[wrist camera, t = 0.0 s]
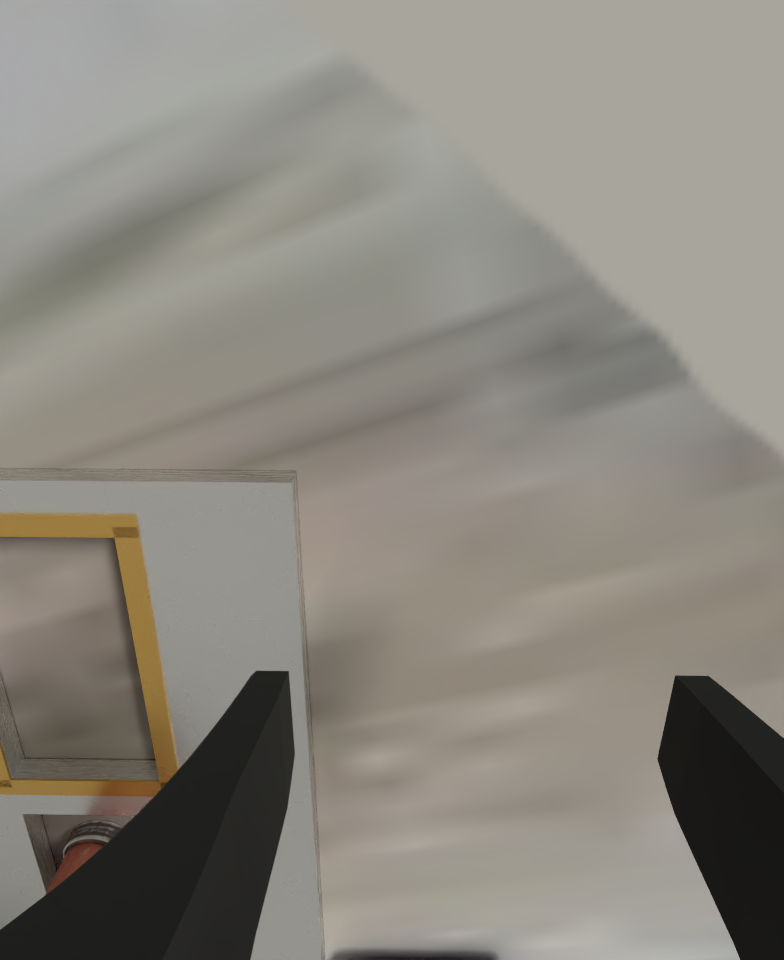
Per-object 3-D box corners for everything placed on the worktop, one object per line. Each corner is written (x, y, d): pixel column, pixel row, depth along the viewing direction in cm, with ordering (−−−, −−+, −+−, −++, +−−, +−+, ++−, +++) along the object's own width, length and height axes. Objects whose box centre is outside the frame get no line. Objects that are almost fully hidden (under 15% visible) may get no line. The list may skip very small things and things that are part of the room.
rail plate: (326, 986, 33) (324, 1011, 32) (-29, 980, 33) (-43, 1004, 32) (296, 470, 22) (291, 484, 21) (-235, 466, 22) (-266, 479, 21)
